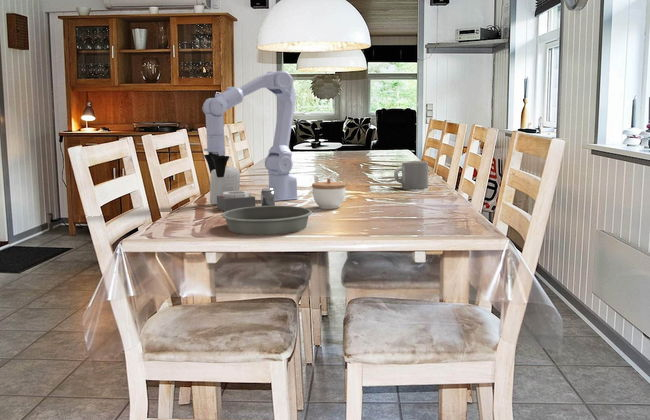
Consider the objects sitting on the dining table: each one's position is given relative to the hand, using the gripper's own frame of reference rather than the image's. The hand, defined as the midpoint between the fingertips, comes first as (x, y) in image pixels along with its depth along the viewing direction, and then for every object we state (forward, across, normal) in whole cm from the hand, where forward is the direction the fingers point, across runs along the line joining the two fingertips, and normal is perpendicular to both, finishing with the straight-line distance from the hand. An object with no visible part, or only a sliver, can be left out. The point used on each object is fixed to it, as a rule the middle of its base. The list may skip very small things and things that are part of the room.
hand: (217, 176), depth 235 cm
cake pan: (+10, +47, 0) cm, 48 cm away
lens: (+10, +10, +14) cm, 20 cm away
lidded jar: (+10, +22, +30) cm, 39 cm away
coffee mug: (+10, -8, +79) cm, 80 cm away
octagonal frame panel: (+10, +10, +3) cm, 14 cm away
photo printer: (+10, -3, +3) cm, 11 cm away
